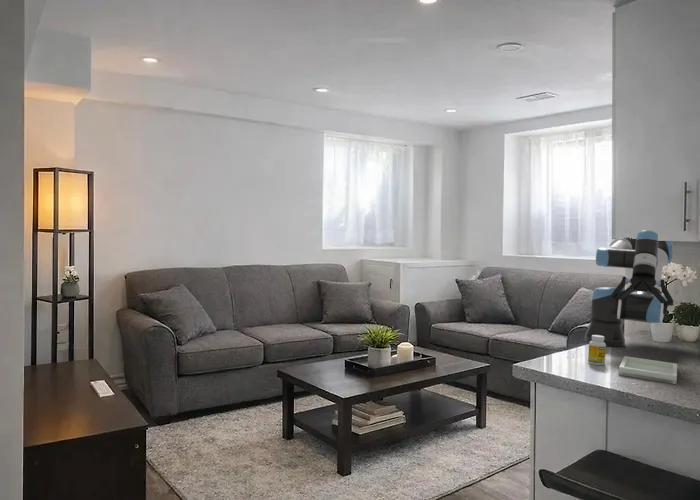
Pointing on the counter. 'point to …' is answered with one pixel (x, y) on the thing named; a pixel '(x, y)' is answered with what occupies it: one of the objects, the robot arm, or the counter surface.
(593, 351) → the supplement bottle
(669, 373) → the tray
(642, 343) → the counter surface
